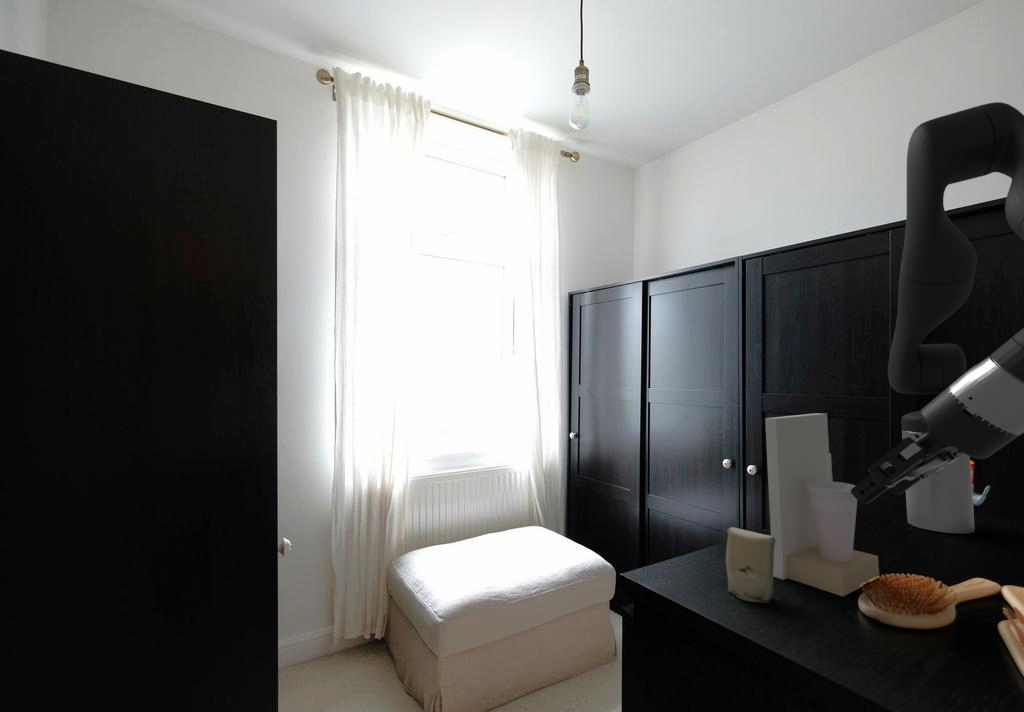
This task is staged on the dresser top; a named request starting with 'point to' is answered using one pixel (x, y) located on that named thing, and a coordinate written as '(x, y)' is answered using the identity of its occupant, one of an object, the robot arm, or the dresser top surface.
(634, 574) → the dresser top surface
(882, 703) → the dresser top surface
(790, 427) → the wall board
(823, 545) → the smoothie
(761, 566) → the cream rounded block
